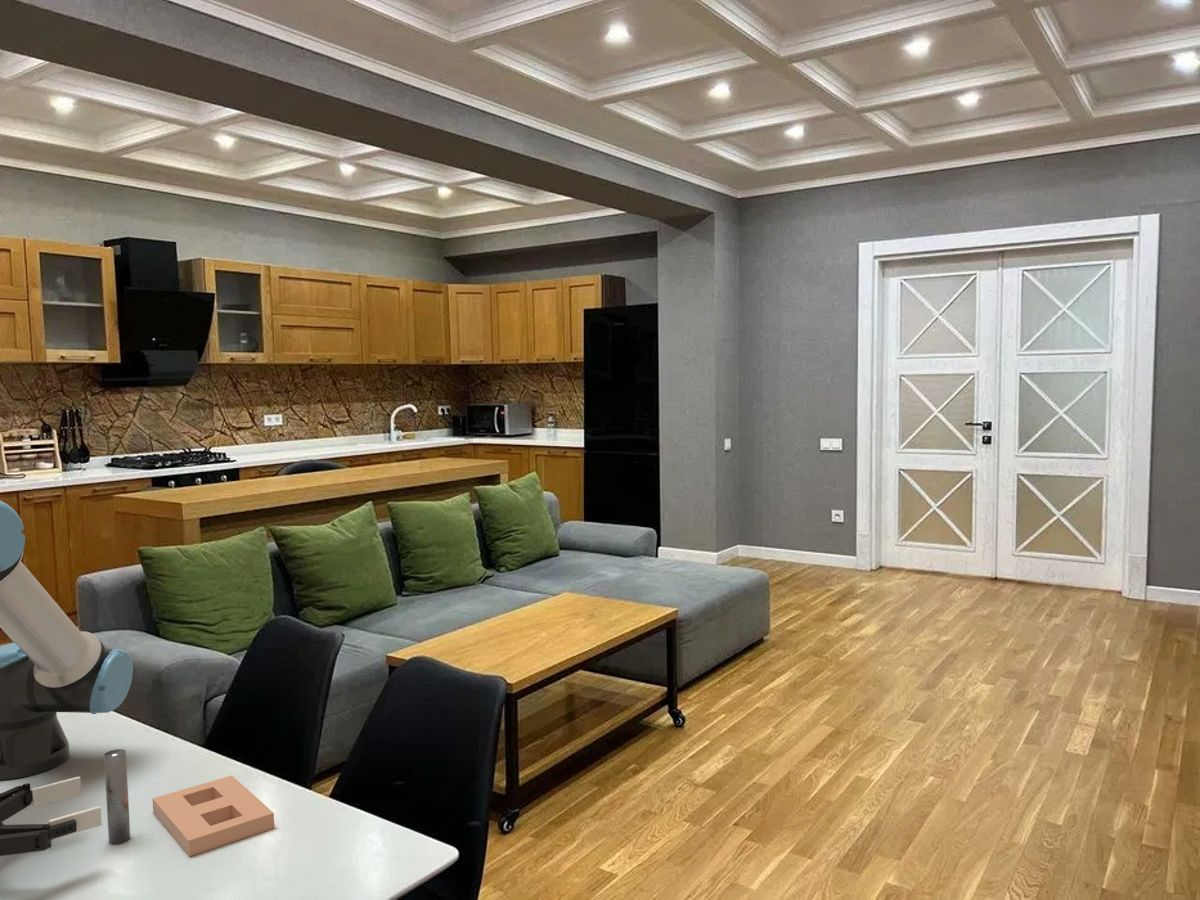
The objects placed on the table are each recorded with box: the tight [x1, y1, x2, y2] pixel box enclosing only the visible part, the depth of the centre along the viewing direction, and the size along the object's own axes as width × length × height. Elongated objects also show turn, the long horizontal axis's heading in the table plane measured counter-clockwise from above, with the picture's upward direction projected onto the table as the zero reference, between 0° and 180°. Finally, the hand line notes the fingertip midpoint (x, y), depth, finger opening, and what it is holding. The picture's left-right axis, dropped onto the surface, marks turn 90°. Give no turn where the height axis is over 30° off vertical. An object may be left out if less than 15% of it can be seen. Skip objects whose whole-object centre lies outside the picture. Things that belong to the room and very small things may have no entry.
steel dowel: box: [103, 748, 131, 845], centre depth 141 cm, size 3×3×14 cm
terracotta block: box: [152, 774, 275, 858], centre depth 147 cm, size 19×13×2 cm
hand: (90, 799), depth 138 cm, fingers open, 13 cm apart
